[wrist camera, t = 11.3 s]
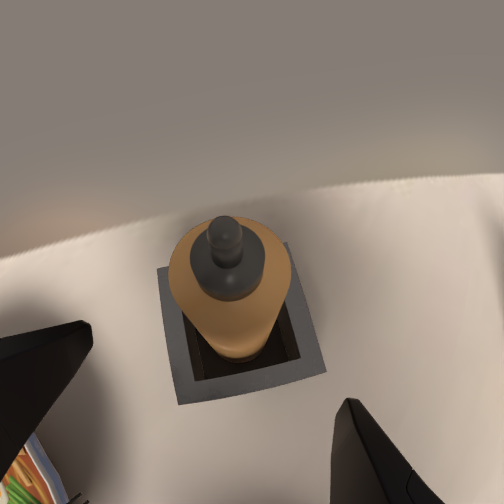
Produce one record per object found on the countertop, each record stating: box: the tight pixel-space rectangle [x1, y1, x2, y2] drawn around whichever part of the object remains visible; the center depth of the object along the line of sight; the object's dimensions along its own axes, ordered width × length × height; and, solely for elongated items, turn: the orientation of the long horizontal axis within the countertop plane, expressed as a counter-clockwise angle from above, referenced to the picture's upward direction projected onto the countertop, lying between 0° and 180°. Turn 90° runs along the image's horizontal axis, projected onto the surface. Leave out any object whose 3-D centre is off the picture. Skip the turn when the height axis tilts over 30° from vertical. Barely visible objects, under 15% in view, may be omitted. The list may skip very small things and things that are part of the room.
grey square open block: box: [157, 242, 327, 405], centre depth 18 cm, size 8×8×4 cm
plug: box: [168, 216, 291, 363], centre depth 13 cm, size 4×4×15 cm
